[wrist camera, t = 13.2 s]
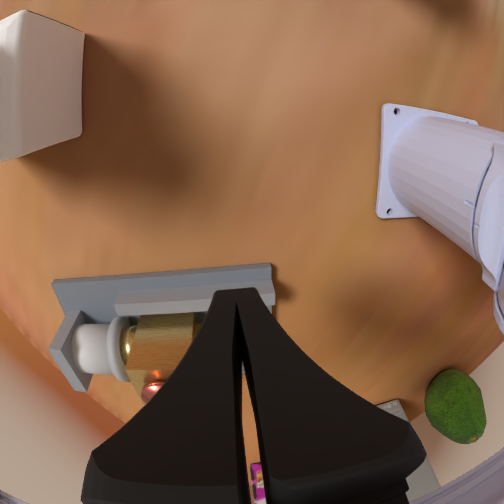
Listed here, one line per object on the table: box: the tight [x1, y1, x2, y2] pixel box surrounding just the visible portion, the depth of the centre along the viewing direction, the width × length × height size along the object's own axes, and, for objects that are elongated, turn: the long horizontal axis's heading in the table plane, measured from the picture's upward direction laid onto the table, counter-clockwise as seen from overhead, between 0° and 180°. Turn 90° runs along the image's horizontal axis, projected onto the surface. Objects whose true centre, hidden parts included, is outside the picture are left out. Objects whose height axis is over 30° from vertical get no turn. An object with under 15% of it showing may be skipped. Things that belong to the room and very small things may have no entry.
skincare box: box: [377, 399, 441, 502], centre depth 27 cm, size 8×7×16 cm
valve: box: [119, 312, 202, 405], centre depth 19 cm, size 7×4×7 cm, turn 93°
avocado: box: [425, 369, 486, 444], centre depth 27 cm, size 8×8×12 cm
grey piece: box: [48, 263, 275, 392], centre depth 20 cm, size 17×10×5 cm, turn 93°
